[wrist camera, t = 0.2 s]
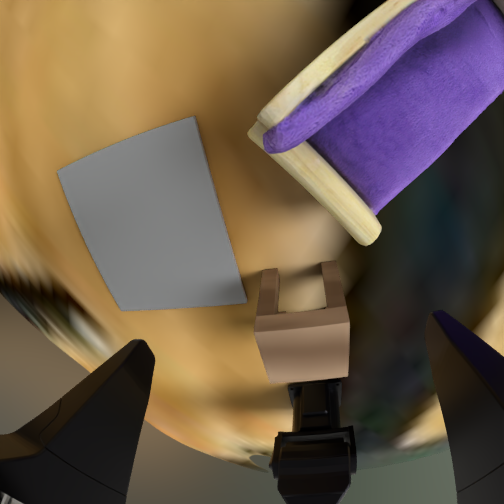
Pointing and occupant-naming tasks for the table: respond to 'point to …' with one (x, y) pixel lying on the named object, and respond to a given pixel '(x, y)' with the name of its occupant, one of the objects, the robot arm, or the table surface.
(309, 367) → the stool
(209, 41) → the table surface
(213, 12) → the table surface
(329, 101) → the toy sofa
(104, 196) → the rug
